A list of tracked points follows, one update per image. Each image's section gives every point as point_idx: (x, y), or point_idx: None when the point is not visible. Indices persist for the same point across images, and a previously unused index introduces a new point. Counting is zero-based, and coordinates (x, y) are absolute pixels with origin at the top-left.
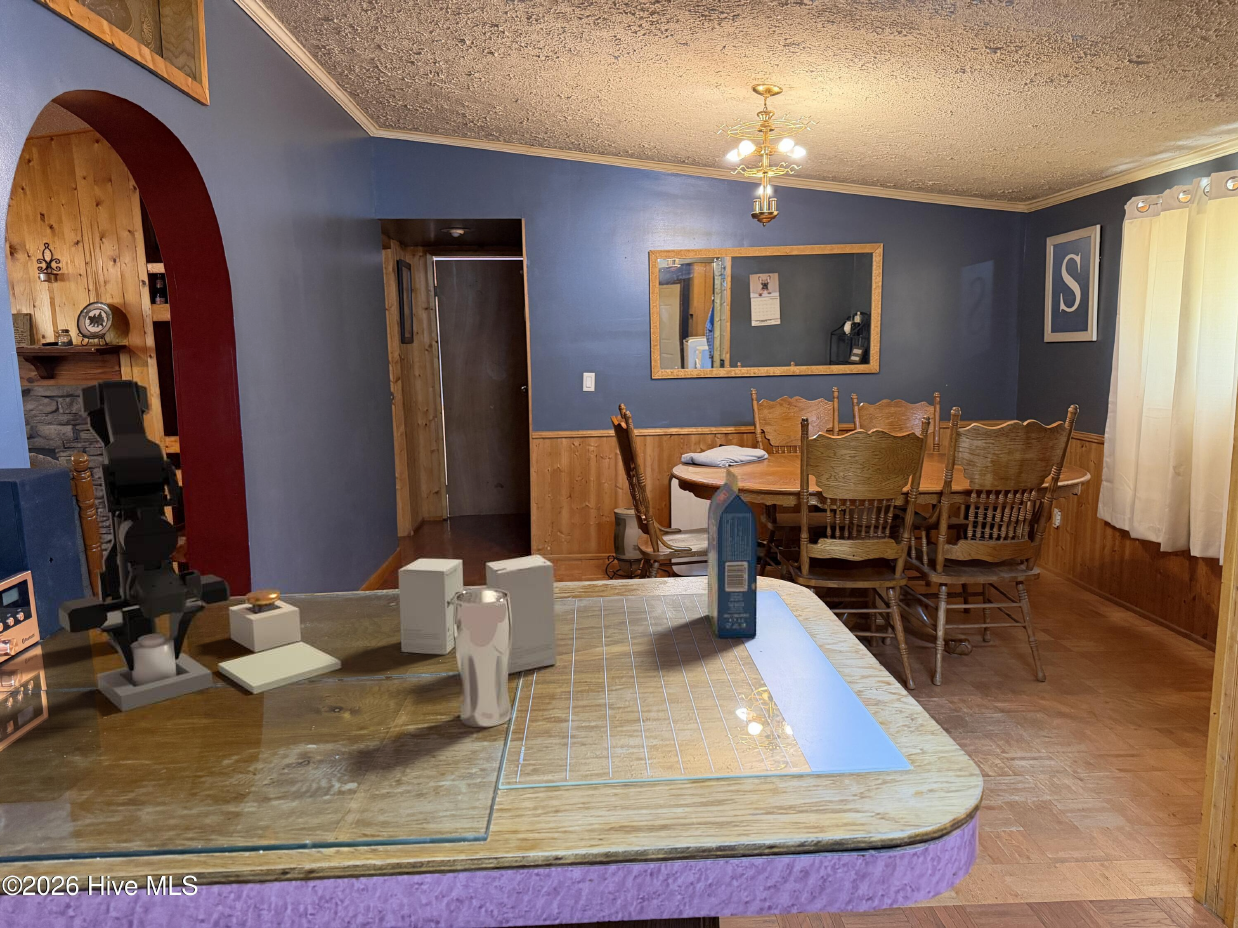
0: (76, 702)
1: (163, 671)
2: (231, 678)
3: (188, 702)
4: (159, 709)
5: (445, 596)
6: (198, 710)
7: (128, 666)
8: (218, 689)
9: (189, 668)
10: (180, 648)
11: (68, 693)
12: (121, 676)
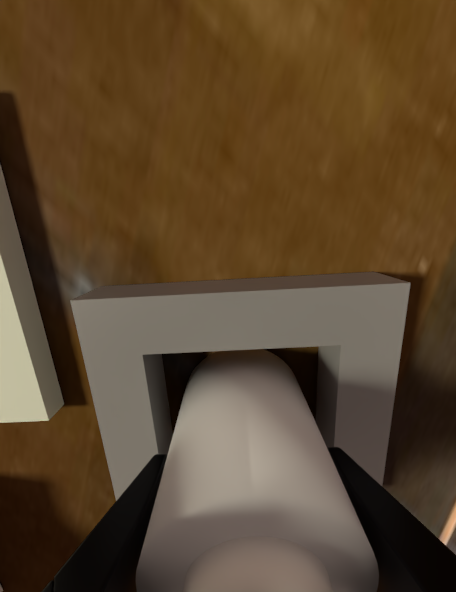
0: (425, 432)
1: (231, 385)
2: (37, 308)
3: (198, 197)
4: (287, 205)
5: None
6: (189, 80)
7: (356, 464)
8: (91, 245)
9: (136, 396)
10: (127, 494)
11: (411, 499)
12: None
